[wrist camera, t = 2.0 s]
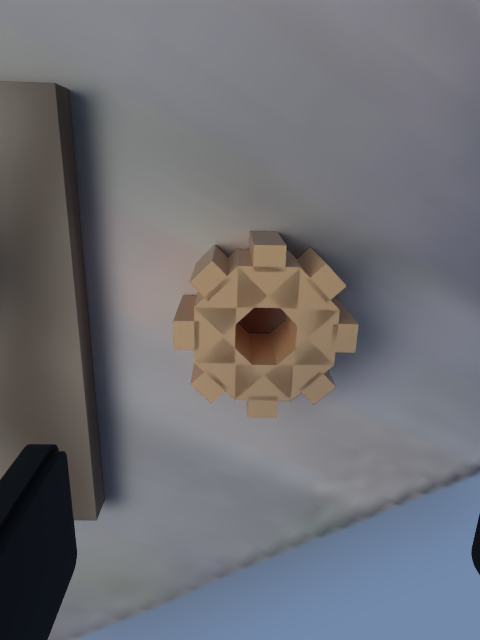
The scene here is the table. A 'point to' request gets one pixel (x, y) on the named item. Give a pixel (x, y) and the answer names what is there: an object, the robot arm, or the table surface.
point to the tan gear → (264, 348)
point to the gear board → (45, 292)
